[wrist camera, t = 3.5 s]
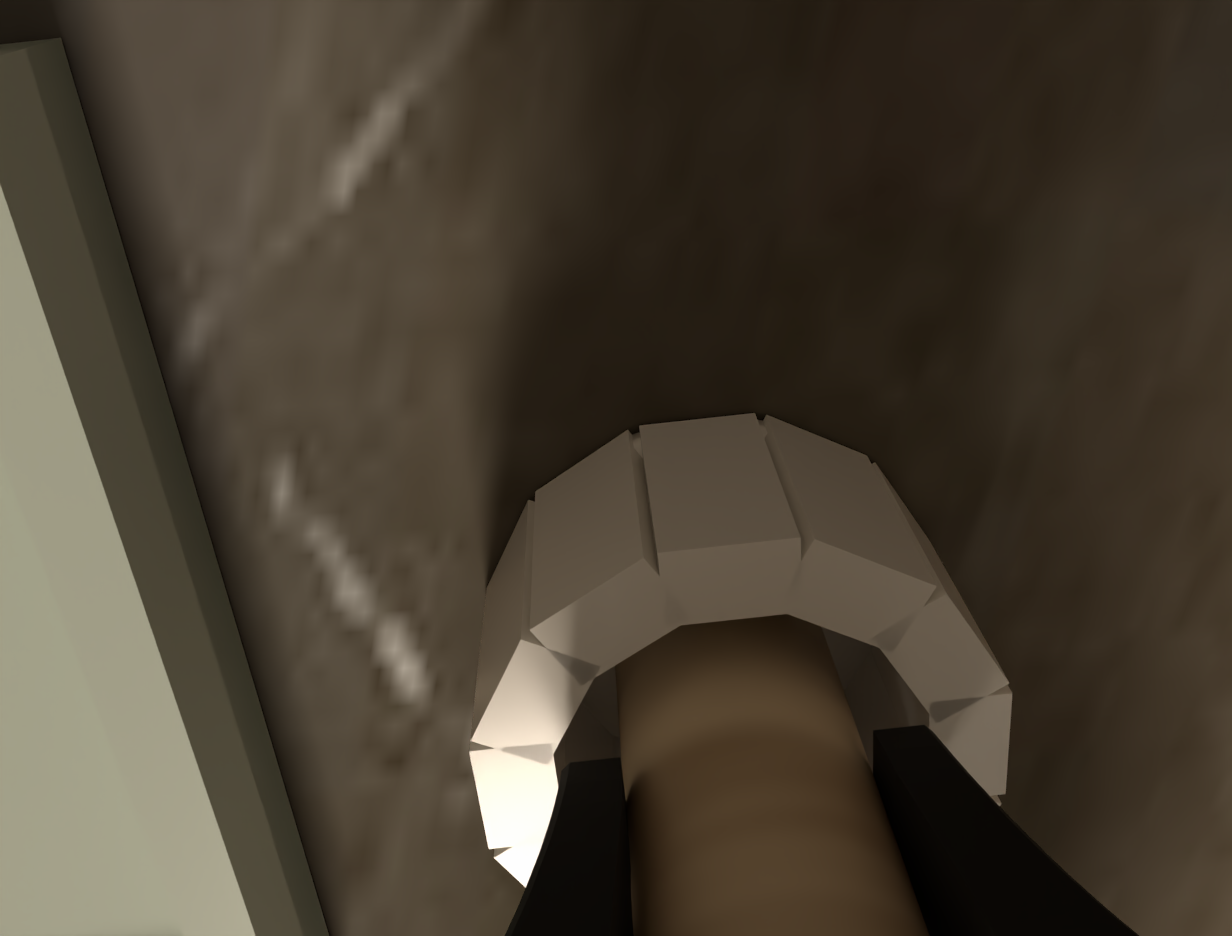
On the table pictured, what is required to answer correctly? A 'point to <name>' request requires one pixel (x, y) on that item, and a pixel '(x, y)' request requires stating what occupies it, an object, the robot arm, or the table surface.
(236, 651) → the tray
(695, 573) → the ring
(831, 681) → the dowel pin
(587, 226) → the table surface
